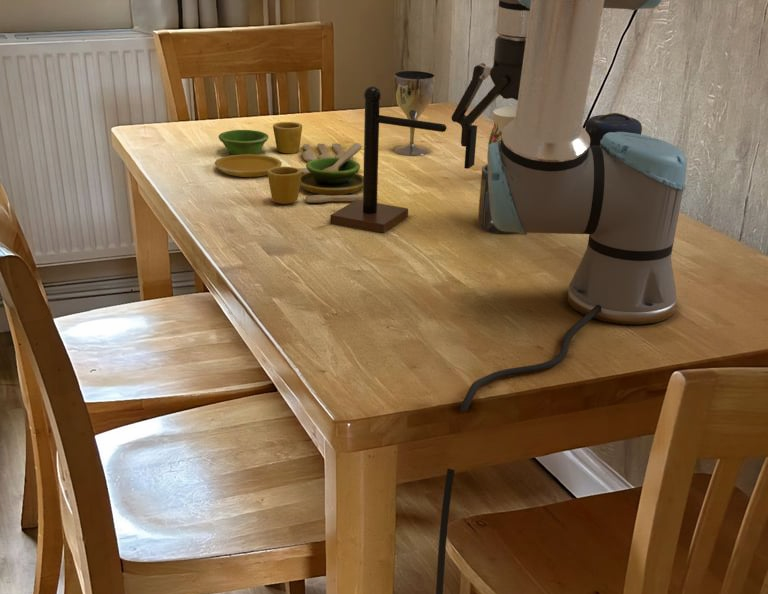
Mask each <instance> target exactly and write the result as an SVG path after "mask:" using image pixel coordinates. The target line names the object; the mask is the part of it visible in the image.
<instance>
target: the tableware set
mask: <svg viewBox="0 0 768 594" xmlns="http://www.w3.org/2000/svg"><path fill="white" fill-rule="evenodd" d="M272 129H273V134H274V140H275V146H276V150H277V152H279V153H283V154H296V153H297V152H299V151H300V148H301V147H300V146H301V141H302V140H301V139H302V133H303V124H302V123H300V122H294V121H280V122H276V123H273V125H272ZM218 139H219V141H220V142H221V143H222V144H223V146H224V147H225V149H226V150H227V152H228V153H229V154H230V155H227V156H222V157H220V158H218V159H216V160H215V161H214V166H215V167H216V168H217V169H218V170H219V171H220V172H221V173H223V174H225V175H230V176H235V177H241V178H242V177H243V178H245V177H247V178H254V177H255V178H256V177H264V176H267V179H268V185H269V188H270V189H269V190H270V195H271V200H272V202H274V203H276V204H292V203H295V202H297V201H298V199H299V195H300V194H299V193H300V186H301V188H303V189H304V190H305V191H307V192H310V193H313V195H306V196H305V202H306V203H325V202H353V201H355V200H362V201H363V194H353V193H356V192H358V191H360V190H361V189H362V188H363V176H364V175H362V174H359V173H358V172H359V171H360V169H361V164H360V163H359V162H357V161H356V160H354V156H355V155H357V154H358V152H360V151H361V150H362V144H361V143H353V144H352V145H350V147H349V148H348V149H347V150H346V151H344V149H343V146H342V145H341V144H340V143H338V142H337V143H336V142H334V143H331V149H332V150H333V151H334V152H335V156H334V155H332V154H330V153H328V150H327V145H326V144H325V143H317V145H316V146H317V149H318V151H319V153H320V154H319V155H318V158H317V156H316V154H315V152H314V150H313V148H312V147H311V145H310V144H309V143H303V144H302V149H303V150H304V151H302V152H301V156H302V159H303V160H304V161H305V162H306V164H305V167H298V168H297V167H293V166H282V164H283V163H282V161H281V160H280V159H278V158H276V157H272V156H269V155H265V154H259V153H260V152H261V151H262V149H263V146H264V145H265V143H266V142H267V141H268V140H269V135H268V134H267V133H266V132H263V131H260V130H254V129H253V130H252V129H234V130H233V129H232V130H227V131H223V132H221V133H219V135H218Z"/></svg>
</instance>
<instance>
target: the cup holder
mask: <svg viewBox="0 0 768 594" xmlns="http://www.w3.org/2000/svg"><path fill="white" fill-rule="evenodd" d="M363 99H364V125H363V127H364V129H363V130H364V131H363V133H364V134H363V175H362V176H363V186H362V195H363V201H362V200H355V201H351V202H350V203H348V204H346V205H345V206H342V207H341V208H339V209H338V210H336V211H335V212H333V213H331V214H330V224H331V225H337V226H342V227H349V228H354V229H357V230H364V231H370V232H375V233H381V234H385V233H386V232H387V231H389V230H391V229H392V228H394V227H395V226H396V225H398V224H399V223H401V222H403V221H404V220H406V219H407V218H408V217H409V208H408V207H403V206H396V205H391V204H385V203H379V202H378V186H379V185H378V183H379V181H378V180H379V145H380V124H384V125H391V126H398V127H405V128H410V127H411V128H415V129H419V130H426V131H432V132H439V133H444V132H446V131H447V125H446V124H444V123H439V122H432V121H424V120H419V119H418V120H411V119H408V118H403V117H397V116H389V115H382V114H380V111H381V109H380V108H381V106H380V105H381V99H382V92H381V90H380V89H379V88H378V86H377V87H376V86H375V85H374V86H373V85H371V86H368V87H367V88H366V89H365V90H364V92H363Z"/></svg>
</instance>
